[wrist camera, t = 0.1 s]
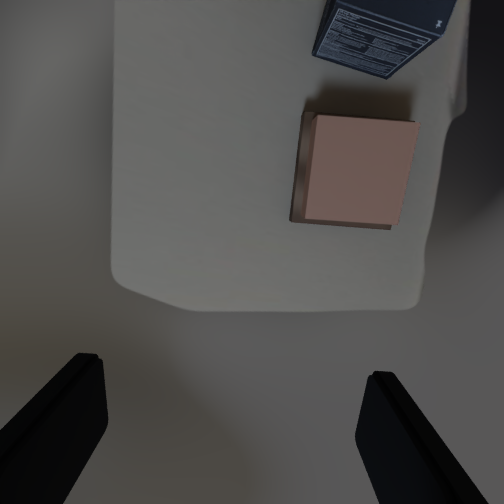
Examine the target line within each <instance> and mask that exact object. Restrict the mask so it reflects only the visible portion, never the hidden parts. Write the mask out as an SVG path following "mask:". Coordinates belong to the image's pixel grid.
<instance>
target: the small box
mask: <svg viewBox="0 0 504 504" xmlns="http://www.w3.org/2000/svg"><path fill="white" fill-rule="evenodd" d="M456 2H457V0H327V2H326V6H325V9H324V12H323V16H322V19H321V23H320V26H319V30H318V33H317V37H316V40H315V44H314V47H313V50H312V55H313V56H315V57H318V58H321V59H324V60H327V61H330V62H333V63H336V64H340V65H343V66H346V67H349V68H352V69H355V70H358V71H362V72H365V73H368V74H371V75H374V76H377V77H381V78H384V79H388V78H390V77H391V76H392V75H393V74H394V73H395V72H396V71H398V70H399V69H400V68H402V67H403V66H404V65H405V64H407V63H408V62H409V61H411V60H412V59H413V58H414V57H416V56H417V55H418V54H419V53H421V52H422V51H423V50H425V49H426V48H427V47H428V46H430V45H431V44H432V43H434V42H435V41H436V40H438V39H439V38H441V37H442V36H444V34H445V31H446V28H447V25H448V22H449V20H450V17H451V15H452V12H453V10H454V7H455V4H456Z"/></svg>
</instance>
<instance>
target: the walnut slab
mask: <svg viewBox="0 0 504 504" xmlns="http://www.w3.org/2000/svg"><path fill="white" fill-rule="evenodd" d="M317 115H326V116H338V117H351V118H364V119H377V120H390V121H403V122H415V121H410V120H398V119H387V118H376V117H364V116H353V115H342V114H330V113H319V112H308V111H305V112H304V113H303V114H302V116H301V124H300V132H299V141H298V149H297V158H296V166H295V175H294V183H293V192H292V200H291V209H290V217H289V220H290V221H291V222H295V223H308V224H320V225H333V226H346V227H358V228H371V229H384V230H391V226H392V225H389V224H375V223H360V222H346V221H332V220H317V219H305V218H303V217H302V216H301V209H302V201H303V192H304V184H305V176H306V167H307V159H308V151H309V142H310V134H311V125H312V120H313V119H314V118H315V117H316V116H317Z"/></svg>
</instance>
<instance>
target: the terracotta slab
mask: <svg viewBox="0 0 504 504" xmlns="http://www.w3.org/2000/svg"><path fill="white" fill-rule="evenodd" d="M419 128H420V123H416V122H403V121H390V120H377V119H364V118H351V117H338V116H326V115H317V116H316V117H315V118H314V119H313V120H312V125H311V134H310V142H309V151H308V159H307V167H306V176H305V184H304V192H303V201H302V209H301V216H302V217H303V218H305V219H317V220H332V221H346V222H360V223H375V224H389V225H398V223H399V218H400V214H401V209H402V205H403V200H404V195H405V191H406V186H407V182H408V177H409V173H410V168H411V164H412V159H413V155H414V150H415V146H416V141H417V137H418V132H419Z"/></svg>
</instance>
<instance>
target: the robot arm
mask: <svg viewBox="0 0 504 504" xmlns="http://www.w3.org/2000/svg"><path fill="white" fill-rule="evenodd" d="M107 425H108V411H107V400H106V390H105V380H104V369H103V361H102V359H99V358H98V355H97V354H89V353H78V354H76V355H75V356H74V357H73V358H72V359H71V360H70V361H69V362H68V363H67V364H66V365H65V366H64V367H63V368H62V369H61V370H60V371H59V372H58V373H57V374H56V375H55V376H54V377H53V378H52V379H51V380H50V381H49V382H48V383H47V384H46V385H45V386H44V387H43V388H42V389H41V390H40V391H39V392H38V393H37V394H36V395H35V396H34V397H33V398H32V399H31V400H30V401H29V402H28V403H27V404H26V405H25V406H24V407H23V408H22V409H21V410H20V411H19V412H18V413H17V414H16V415H15V416H14V417H13V418H12V419H11V420H10V421H9V422H8V423H7V424H6V425H5V426H4V427H3V428H2V429H1V430H0V504H63V503H64V501H65V500H66V497H67V496H68V494H69V493H70V491H71V489H72V487H73V486H74V484H75V482H76V481H77V479H78V477H79V475H80V474H81V472H82V470H83V468H84V467H85V465H86V463H87V462H88V460H89V458H90V457H91V455H92V453H93V451H94V450H95V448H96V446H97V444H98V443H99V441H100V439H101V438H102V436H103V434H104V432H105V430H106V428H107ZM355 440H356V445H357V448H358V450H359V453H360V455H361V458H362V460H363V463H364V465H365V468H366V471H367V473H368V476H369V478H370V481H371V483H372V486H373V489H374V491H375V494H376V496H377V499H378V501H379V504H488V502H487V501H486V499H485V498H484V497H483V495H482V494H481V493H480V491H479V490H478V488H477V487H476V486H475V484H474V483H473V482H472V480H471V479H470V477H469V476H468V475H467V473H466V472H465V471H464V469H463V468H462V466H461V465H460V464H459V462H458V461H457V460H456V458H455V457H454V455H453V454H452V453H451V451H450V450H449V449H448V447H447V446H446V445H445V443H444V442H443V440H442V439H441V438H440V436H439V435H438V433H437V432H436V431H435V429H434V428H433V426H432V425H431V424H430V422H429V421H428V420H427V418H426V417H425V416H424V414H423V413H422V411H421V410H420V409H419V407H418V406H417V404H416V403H415V402H414V400H413V399H412V398H411V396H410V395H409V394H408V392H407V391H406V389H405V388H404V387H403V385H402V384H401V382H400V381H399V380H398V378H397V377H396V376H395V374H394V373H392V372H385V371H374V372H373V374H372V375H369V377H368V379H367V384H366V388H365V393H364V397H363V401H362V406H361V410H360V415H359V419H358V424H357V428H356V433H355Z"/></svg>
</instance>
